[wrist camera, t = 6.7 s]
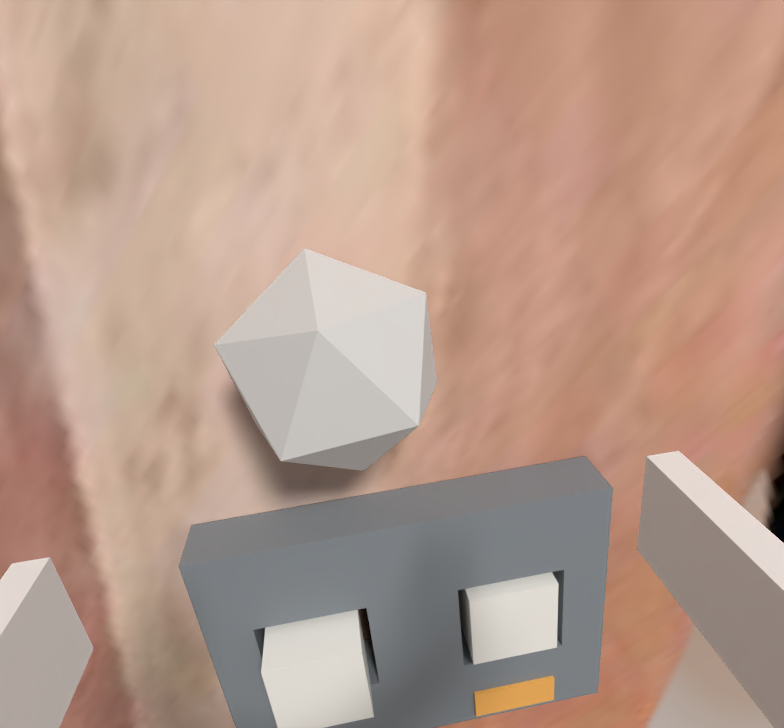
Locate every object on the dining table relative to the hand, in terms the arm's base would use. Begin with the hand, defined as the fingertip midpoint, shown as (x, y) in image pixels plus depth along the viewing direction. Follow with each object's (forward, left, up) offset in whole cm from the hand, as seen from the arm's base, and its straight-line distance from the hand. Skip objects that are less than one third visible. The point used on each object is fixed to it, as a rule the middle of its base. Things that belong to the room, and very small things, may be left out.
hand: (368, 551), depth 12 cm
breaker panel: (+2, -18, -15) cm, 23 cm away
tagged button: (+7, -18, -14) cm, 24 cm away
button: (-4, -18, -13) cm, 22 cm away
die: (0, 0, -15) cm, 15 cm away
